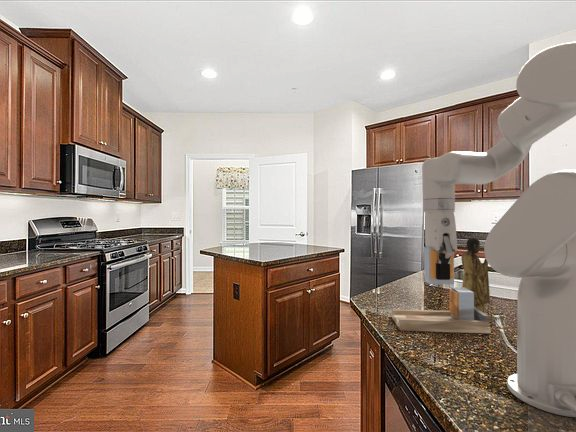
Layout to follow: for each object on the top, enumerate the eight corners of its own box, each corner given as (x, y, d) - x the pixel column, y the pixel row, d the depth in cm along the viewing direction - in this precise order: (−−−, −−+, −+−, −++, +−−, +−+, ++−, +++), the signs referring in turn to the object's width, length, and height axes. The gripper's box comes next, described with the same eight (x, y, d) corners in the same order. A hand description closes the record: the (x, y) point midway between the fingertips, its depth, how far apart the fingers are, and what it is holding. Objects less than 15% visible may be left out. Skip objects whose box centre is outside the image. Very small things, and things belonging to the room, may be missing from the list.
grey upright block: (429, 284, 81) (429, 248, 81) (424, 280, 85) (423, 247, 85) (455, 284, 80) (454, 248, 80) (448, 281, 85) (447, 247, 85)
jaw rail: (490, 333, 88) (490, 295, 88) (400, 330, 91) (400, 293, 91) (470, 319, 100) (470, 285, 100) (391, 316, 103) (391, 284, 103)
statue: (493, 318, 100) (493, 238, 100) (460, 313, 105) (460, 237, 105) (493, 311, 108) (493, 236, 108) (462, 307, 113) (462, 235, 113)
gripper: (468, 205, 74) (469, 284, 74) (441, 207, 91) (442, 271, 91) (434, 205, 75) (435, 284, 75) (414, 207, 91) (414, 271, 91)
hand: (439, 276), depth 83 cm, fingers closed on grey upright block, 4 cm apart
